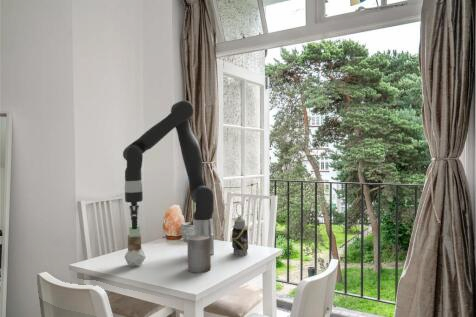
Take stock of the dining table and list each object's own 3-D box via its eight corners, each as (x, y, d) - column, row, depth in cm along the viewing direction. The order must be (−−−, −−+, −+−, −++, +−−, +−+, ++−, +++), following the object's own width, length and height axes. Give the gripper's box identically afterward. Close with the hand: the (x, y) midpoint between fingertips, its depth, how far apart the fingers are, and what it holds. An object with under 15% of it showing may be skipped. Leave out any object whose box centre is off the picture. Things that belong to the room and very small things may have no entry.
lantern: (251, 254, 169) (250, 202, 169) (237, 257, 166) (236, 204, 165) (242, 250, 177) (241, 200, 177) (228, 252, 173) (227, 202, 173)
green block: (139, 234, 159) (139, 224, 159) (140, 236, 154) (139, 226, 154) (129, 235, 157) (129, 225, 157) (129, 237, 153) (129, 227, 153)
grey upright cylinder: (205, 264, 155) (204, 230, 155) (214, 270, 147) (213, 234, 146) (184, 268, 151) (183, 233, 151) (192, 274, 142) (191, 237, 142)
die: (134, 271, 150) (147, 251, 153) (117, 260, 151) (131, 241, 154) (139, 272, 157) (151, 253, 160) (123, 262, 159) (136, 243, 162)
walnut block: (140, 246, 159) (140, 234, 159) (141, 249, 154) (140, 236, 154) (128, 247, 158) (127, 235, 158) (128, 250, 152) (127, 237, 152)
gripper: (142, 191, 150) (143, 229, 150) (142, 189, 164) (143, 223, 164) (124, 192, 148) (125, 231, 148) (125, 189, 162) (126, 225, 162)
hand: (134, 227), depth 156 cm, fingers open, 8 cm apart
